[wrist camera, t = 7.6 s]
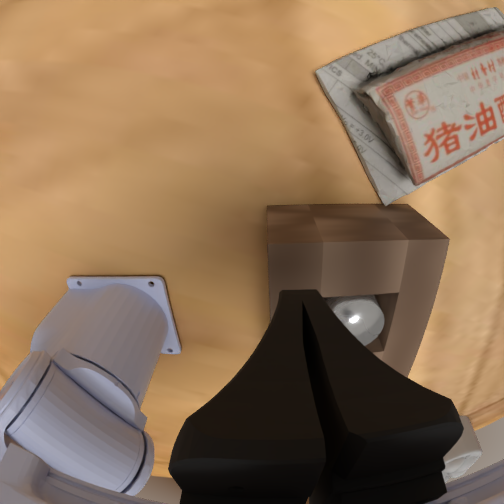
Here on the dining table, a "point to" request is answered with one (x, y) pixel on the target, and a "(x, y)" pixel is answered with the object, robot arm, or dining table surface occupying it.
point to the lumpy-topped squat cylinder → (462, 452)
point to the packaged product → (422, 99)
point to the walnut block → (362, 265)
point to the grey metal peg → (359, 315)
